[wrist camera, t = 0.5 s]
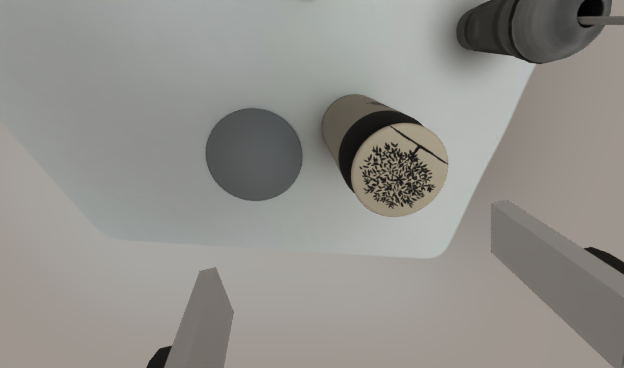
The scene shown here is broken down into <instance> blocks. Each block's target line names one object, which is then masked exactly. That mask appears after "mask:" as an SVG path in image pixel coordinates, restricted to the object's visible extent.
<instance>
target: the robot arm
mask: <svg viewBox="0 0 624 368" xmlns="http://www.w3.org/2000/svg"><path fill="white" fill-rule="evenodd" d="M491 252H492V253H493V254H494V255H495V256H496V257H497V258H498V259H499V260H500V261H501V262H502V263H503V264H504V265H505V266H506V267H508V268H509V269H510V270H511V271H512V272H513V273H514V274H515V275H516V276H517V277H518V278H519V279H520V280H521V281H522V282H523V283H524V284H526V285H527V286H528V287H529V288H530V289H531V290H532V291H533V292H534V293H535V294H536V295H537V296H538V297H539V298H540V299H542V301H544V302H545V303H546V304H547V305H548V306H549V307H550V308H551V309H552V310H553V311H554V312H555V313H556V314H557V315H558V316H560V317H561V318H562V319H563V320H564V321H565V322H566V323H567V324H568V325H569V326H570V327H571V328H572V329H573V330H574V331H575V332H576V333H578V334H579V335H580V336H581V337H582V338H583V339H584V340H585V341H586V342H587V343H588V344H589V345H590V346H591V347H592V348H593V349H595V350H596V351H597V352H598V353H599V354H600V355H601V356H602V357H603V358H604V359H605V360H606V361H607V362H608V363H610V365H612V366H613V367H614V368H624V262H622V261H621V260H619V259H617V258H616V257H614V256H612V255H611V254H609V253H606V252H604V251H601V250H598V249H596V248H593V247H589V248H584V249H583V248H581V247H580V246H578V245H577V244H575V243H574V242H572V241H571V240H569V239H567V238H566V237H564V236H563V235H561V234H560V233H558V232H557V231H555V230H554V229H552V228H550V227H549V226H547V225H546V224H544V223H542V222H541V221H539V220H538V219H536V218H535V217H533V216H532V215H530V214H529V213H527V212H526V211H524V210H523V209H521V208H519V207H518V206H516V205H515V204H513V203H512V202H510V201H509V200H503V201H499V202H495V203H491ZM233 313H234V312H233V309H232V307H231V304H230V301H229V299H228V296H227V294H226V291H225V289H224V287H223V284H222V281H221V279H220V276H219V274H218V272H217V269H216V267H215V268H211V269H207V270H202V271H200V272H199V275H198V277H197V280H196V283H195V285H194V288H193V291H192V294H191V296H190V299H189V302H188V305H187V307H186V310H185V312H184V315H183V318H182V321H181V323H180V326H179V329H178V331H177V334H176V337H175V340H174V342H173V345H172V346H169V347H164V348H160V349H159V350H158V351H157V352H156V354H155V355H154V356H153V357H152V359H151V360H150V361H149V363H148V366H147V368H224V363H225V357H226V352H227V346H228V341H229V335H230V330H231V324H232V319H233Z"/></svg>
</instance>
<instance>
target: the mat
mask: <svg viewBox="0 0 624 368" xmlns="http://www.w3.org/2000/svg"><path fill="white" fill-rule="evenodd" d="M206 160H207V165H208V168H209V171H210V173H211V175H212V177H213V178H214V180H215V181H216V182H217V183H218V185H219V186H220V187H222V188H223V189H224V190H225V191H227V192H228V193H229V194H231V195H233V196H235V197H238V198H241V199H244V200H250V201H262V200H267V199H271V198H274V197H276V196H278V195H280V194H282V193H283V192H285V191H286V190H287V189H288V188H289V187H290V186H291V185H292V184H293V183H294V181H295V180H296V178H297V176H298V174H299V172H300V169H301V165H302V149H301V144H300V141H299V138H298V136H297V134H296V133H295V131H294V130H293V128H292V127H291V126H290V125H289V124H288V123H287V122H286V121H285V120H284V119H283V118H281V117H280V116H278V115H276V114H274V113H272V112H270V111H266V110H262V109H243V110H239V111H236V112H233V113H231V114H229V115H228V116H226V117H225V118H223V119H222V120H221V121H220V122H219V123H218V124H217V125H216V126H215V128H214V129H213V130H212V132H211V134H210V136H209V139H208V141H207V146H206Z"/></svg>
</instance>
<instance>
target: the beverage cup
mask: <svg viewBox="0 0 624 368" xmlns="http://www.w3.org/2000/svg"><path fill="white" fill-rule="evenodd" d="M611 5H612V0H490V1H488V2H485V3H483V4H481V5H479V6H477V7H475V8H474V9H471V10H470V11H468V12H466V13H465V14H464V15H463V17H462V18H461V20H460V21H459V23H458V27H457V38H458V41H459V43H460V44H461V45H462V47H464V48H466V49H469V50H473V51H479V52H487V53H495V54H502V55H510V56H514V57H516V58H519V59H522V60H525V61H527V62H529V63H536V64H543V63H547V62H552V61H555V60H559V59H563V58H567V57H569V56H571V55H573V54H575V53H577V52H578V51H580V50H582V49H584V48H585V47H586V46H588V45H589V44H590V43H591V42H592V41H593V40H594V39H595V38H596V37H597V36H598V35H599V34H600V32H601V31H602V29H603V28H604V26H605V25H624V16H609V15H610V12H611Z"/></svg>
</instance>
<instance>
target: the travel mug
mask: <svg viewBox="0 0 624 368" xmlns="http://www.w3.org/2000/svg"><path fill="white" fill-rule="evenodd" d="M322 133H323V137H324V140H325V142H326V144H327V146H328V148H329V150H330V152H331V154H332V156H333V158H334V160H335V162H336V164H337V166H338V168H339V170H340V172H341V174H342V176H343V178H344V180H345V182H346V183H347V185H348V187H349V188H350V189H351V190H352V191H353V192H354V193H355V194H356V196H357V198H358V199H359V201H360V202H361V203H362V204H363V205H364V206H365V207H366V208H367V209H369V210H370V211H372V212H374V213H376V214H379V215H383V216H388V217H399V216H405V215H409V214H412V213H415V212H417V211H419V210H420V209H422V208H424V207H425V206H427V205H428V204H429V203H430V202H431V201H432V200H433V199H434V198H435V197H436V196H437V195H438V193H439V192H440V190H441V188H442V187H443V185H444V182H445V180H446V176H447V172H448V157H447V153H446V150H445V147H444V145H443V143H442V142H441V140H440V139H439V138H438V137H437V136H436V135H435V134H434V133H433V132H432V131H431V130H429V129H427V128H425V127H424V126H423V125H422V124H421V123H419V122H418V121H417V120H415V119H414V118H412V117H410V116H408V115H405V114H403V113H401V112H399V111H397V110H395V109H392V108H390V107H388V106H386V105H384V104H382V103H379V102H377V101H375V100H373V99H371V98H369V97H366V96H363V95H356V94H355V95H348V96H344V97H342V98H340V99H338V100H337V101H335V102H334V103H333V104H332V105H331V106H330V107H329V109H328V110H327V112H326V114H325V116H324V119H323V123H322Z"/></svg>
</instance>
